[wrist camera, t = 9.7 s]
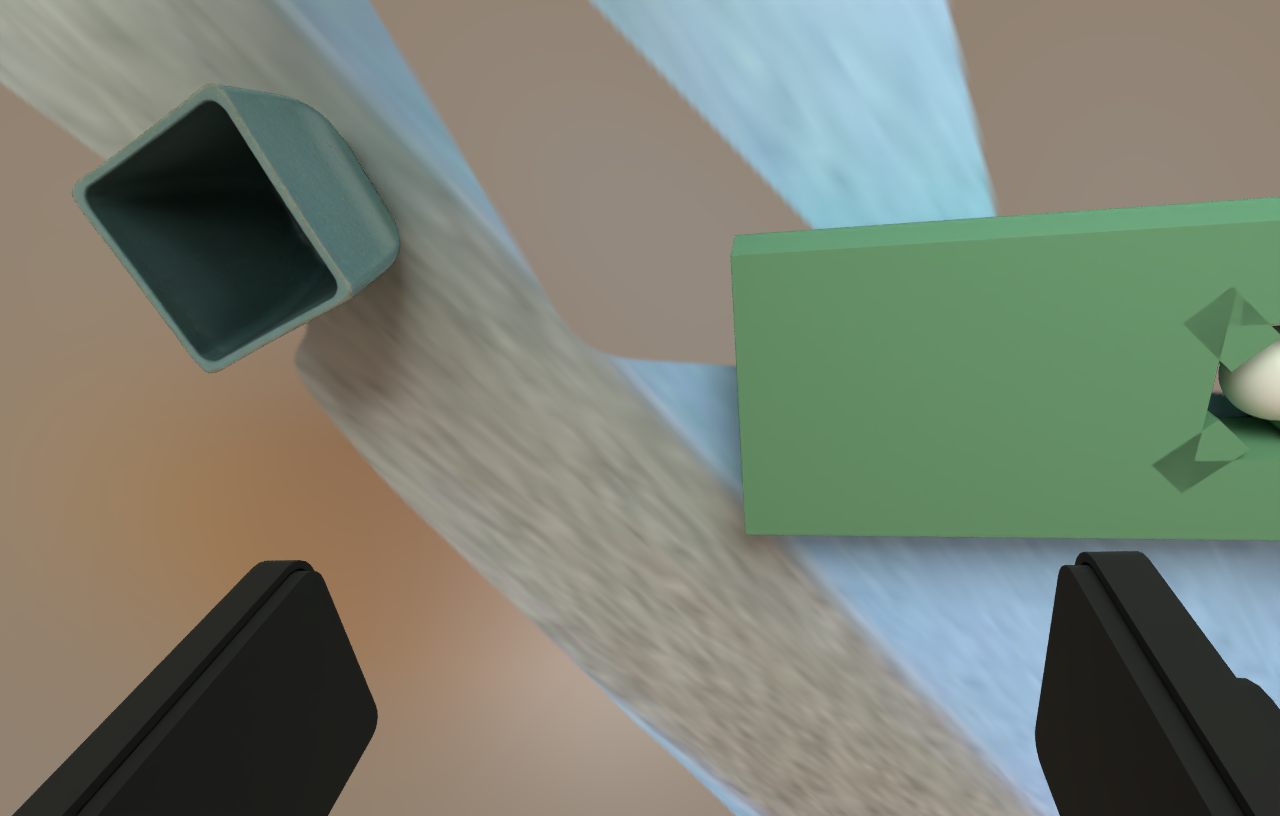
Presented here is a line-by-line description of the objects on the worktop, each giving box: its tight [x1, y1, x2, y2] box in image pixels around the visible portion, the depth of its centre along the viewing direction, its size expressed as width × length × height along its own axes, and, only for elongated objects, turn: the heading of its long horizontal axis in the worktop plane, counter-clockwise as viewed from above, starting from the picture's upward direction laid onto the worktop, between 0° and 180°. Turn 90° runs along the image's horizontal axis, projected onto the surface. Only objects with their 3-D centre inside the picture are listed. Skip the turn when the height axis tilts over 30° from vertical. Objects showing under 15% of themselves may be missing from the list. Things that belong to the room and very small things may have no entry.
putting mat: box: [731, 197, 1280, 540], centre depth 26 cm, size 14×28×18 cm, turn 96°
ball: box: [1219, 326, 1280, 421], centre depth 30 cm, size 4×4×4 cm
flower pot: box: [72, 84, 400, 373], centre depth 32 cm, size 9×9×9 cm
